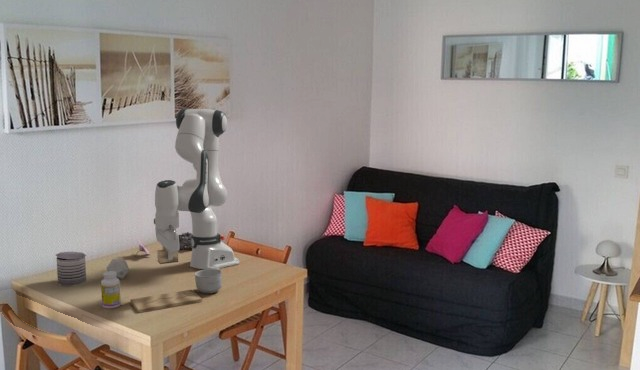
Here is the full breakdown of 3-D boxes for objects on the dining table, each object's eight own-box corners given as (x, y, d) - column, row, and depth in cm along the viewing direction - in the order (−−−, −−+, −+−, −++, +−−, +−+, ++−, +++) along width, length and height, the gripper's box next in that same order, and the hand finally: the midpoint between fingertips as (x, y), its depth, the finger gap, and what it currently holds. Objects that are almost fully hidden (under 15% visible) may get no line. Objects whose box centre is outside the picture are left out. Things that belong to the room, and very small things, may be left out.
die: (116, 283, 264) (130, 263, 265) (99, 272, 264) (113, 252, 266) (122, 284, 272) (135, 265, 273) (106, 273, 273) (119, 254, 274)
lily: (143, 263, 294) (152, 245, 295) (123, 253, 295) (132, 235, 296) (150, 263, 304) (159, 247, 305) (131, 253, 306) (140, 237, 307)
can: (65, 277, 269) (63, 249, 267) (91, 277, 268) (90, 250, 266) (52, 285, 258) (50, 257, 256) (79, 286, 257) (78, 258, 255)
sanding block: (175, 259, 249) (175, 248, 248) (178, 262, 246) (178, 250, 245) (157, 261, 246) (157, 250, 245) (160, 264, 242) (160, 252, 242)
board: (191, 292, 252) (191, 289, 252) (201, 301, 242) (201, 298, 242) (130, 302, 240) (130, 299, 240) (138, 312, 230) (138, 309, 230)
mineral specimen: (166, 242, 310) (179, 224, 311) (175, 244, 320) (187, 227, 320) (186, 258, 307) (199, 239, 307) (194, 259, 316) (207, 241, 317)
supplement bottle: (104, 302, 240) (103, 270, 237) (122, 302, 240) (121, 269, 238) (100, 309, 233) (98, 275, 231) (118, 308, 234) (117, 275, 231)
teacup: (209, 297, 247) (209, 277, 245) (189, 292, 252) (188, 273, 251) (232, 287, 258) (232, 269, 257) (212, 283, 264) (212, 264, 262)
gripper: (183, 227, 236) (184, 263, 238) (168, 217, 253) (169, 250, 256) (166, 229, 233) (167, 265, 235) (152, 218, 250) (153, 252, 253)
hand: (168, 257), depth 246 cm, fingers closed on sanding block, 4 cm apart
